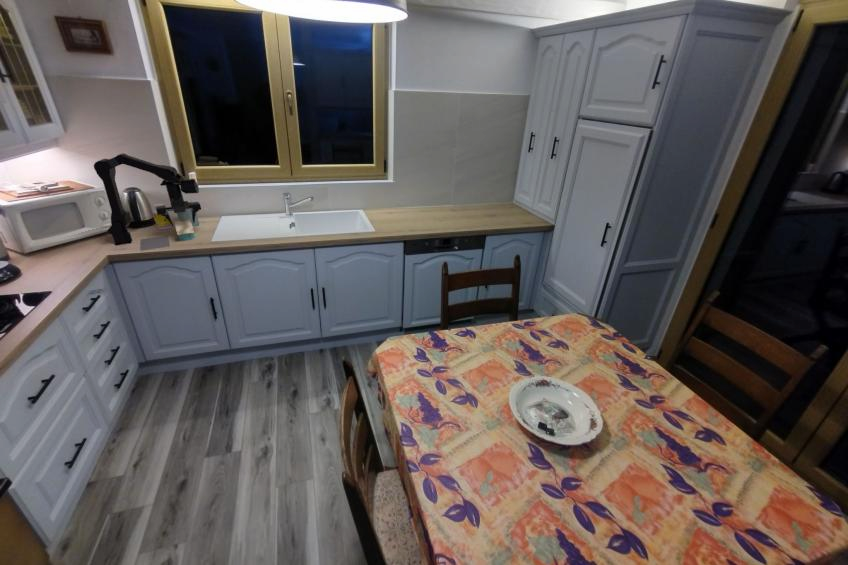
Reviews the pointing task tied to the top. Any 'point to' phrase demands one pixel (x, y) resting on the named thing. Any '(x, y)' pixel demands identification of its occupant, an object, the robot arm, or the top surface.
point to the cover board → (184, 227)
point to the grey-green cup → (188, 216)
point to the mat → (154, 243)
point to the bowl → (186, 236)
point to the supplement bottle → (160, 219)
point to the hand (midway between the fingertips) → (183, 224)
